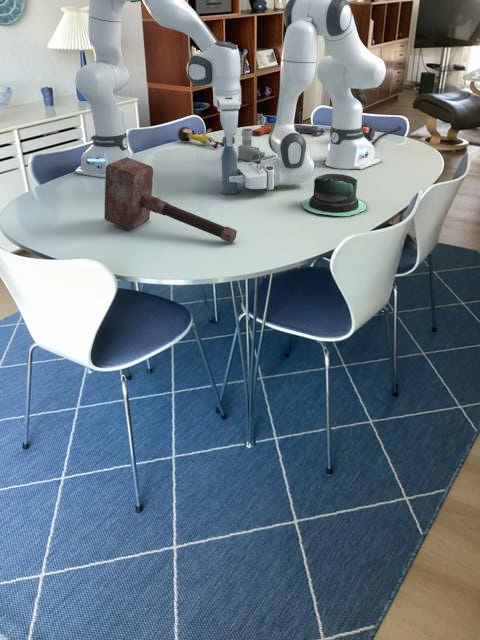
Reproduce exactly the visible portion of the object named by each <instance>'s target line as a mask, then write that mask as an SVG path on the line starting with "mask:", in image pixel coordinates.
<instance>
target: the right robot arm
mask: <svg viewBox="0 0 480 640" xmlns="http://www.w3.org/2000/svg"><path fill="white" fill-rule="evenodd" d="M283 22H284V26H285V29H286V31H285V35H284V40H283V44H282V50H281V58H280V72H279V73H280V74H279V92H278V97H277V98H278V99H277V107H276V114H275V120H274V123H275V124H274V126H273V128H272V130H271V132H269V134H268V145H269V148H270V150H271V151H272V152H273V153H275V154H276V155H277V158H275V159H273V158H272V159H267V160H261V161H259V163H257V162H250V161H244V162H243V161H242V162H237V176H234V175H233V176H229V177H228V178H229V182H238V183H239V184H243V185H244V187H245V188H246V189H250V190H264V189H267V190H268V191H269V190H270V191H271V190H274V188H275V187H277V186H281V185H286V186H290V185H291V186H292V185H300V184H304V183H308V182H309V181H310V180H311V179H312V177H313V176H314V172H315V162H314V160H313V159H312V158H311V156H310V153H309V152H308V147H307V141H306V139H305V137H304V136H303V135H302V134H301V133H298V132H296V131H295V128H294V125H295V117H296V109H297V103H298V99H299V97H300V95H301V94H302V93H303V92H304V91H306V90H307V89H309V88H310V87H311V85H312V84H313V81H314V78H315V74H316V78H317V80H318V81H319V83H320V84H321V85H322V86H323V87H324V88H325V91H327V93H328V96H329V98H330V101H331V112H332V113H331V115H332V116H331V126H330V130H329V137H330V140H329V143H328V144H327V145H328V146H327V156H326V157H325V163H324V164H325V166H327V167H330V168H334V169H341V170H342V169H343V170H348V169H350V170H351V169H352V170H363V169H365V168H368V167H370V166H373V165H376V164H378V163H381V158H379V157H377V156H376V155H375V150H376V149H375V145H376V143H377V141H378V140H380V139H381V138H383V137H384V136H385V135H388V134H390V133H394V132H396V131H398V130H399V129H401V125H397V127H396V128H395V129H394V128H393V129H391V130H388V131H386V132H383V133H382V134H380V135H378V136H377V137H376V138H375V139H374V141H372V143H371V141H368V140H367V139H366V138H365V137H364V134H363V132H365V133H368V129H369V128H368V127H363V128H362V127H361V125H362V123H363V122H362V121H363V111H364V106H363V107H362V104H361V103H360V102H359V101H358V100H357V99H355V98H354V97H353V95H352V93H351V90H350V88H356V89H363V90H369V89H375V88H379V86H380V85H382V84H383V82H384V80H385V78H386V74H387V68H386V64H385V61H384V60H383V59H382V58H381V57H379V56H377V55H375V54H374V53H372V52H371V51H370V50H369V49H368V48H367V47H366V46H365V44H364V43H363V42H362V40H361V39H360V36H359V33H358V30H357V25H356V22H355V17H354V14H353V10H352V6H351V5H350V2H349V1H348V0H288V1H287V2H286V4H285V6H284V9H283ZM318 36H319V37H322V38H323V39H322V40H323V43H324V45H325V48H326V51H327V53H328V55H325V56H323V57H321V59H320V60H319V62H318V63H317V58H318Z"/></svg>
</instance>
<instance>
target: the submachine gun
mask: <svg viewBox="0 0 480 640" xmlns="http://www.w3.org/2000/svg"><path fill="white" fill-rule="evenodd" d="M274 124H275V122H264V124H262V125H261V126H260V127H259V128H256V129H252V136H257V137H258V136H261V135H265V134H268V133H270V132H271V130H272V128H273V126H274ZM294 128H295V131H296V132H298V133H299V134H311V136H312V137H319V136H322V135H323V134H324V133H325V130H324V128H319V127H318V126H315V125H313V126H312V125H304V124H303V125H302V124H294ZM318 128H319V129H318Z"/></svg>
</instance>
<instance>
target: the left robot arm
mask: <svg viewBox="0 0 480 640" xmlns="http://www.w3.org/2000/svg"><path fill="white" fill-rule="evenodd" d="M127 2H130V3H137V2H142V3H143V5H144V6H145V7H146V9H147V11H148V13H149V15H150V16H151V17H152V19H153V20H154V21H155V22H156V23H157V24H158V25H159V26H161V27H163V28H166V29H170V30H174V31H177V32H181V33H183V34H185V35H187V36H188V37H190V38H191V39H192V41H193V42H194V43H195V44H196V45H197V47H198V48H199V50H200V51H201V52H198V53H197V54H194V55H192V56H191V57H190V58H189V59H188V61H187V63H186V75H187V78H188V80H189V81H190V83H191V84H192V85H193V86H195V87H200V88H204V87H211V86H212V94H213V95H212V97H213V99H212V100H213V106H214V107H216V108H217V111H218V112H219V121H220V125H221V127H222V131H223V133H224V137H225V136H226V144H227V146H232V138H233V137H234V136H237V133H238V124H239V123H238V122H239V110H240V109H241V106H242V85H241V74H242V68H241V67H242V65H241V64H242V63H241V56H240V55H241V54H240V50H239V48H238V46H237V45H236V44H234V43H232V42H229V41H219V40H218V39H217V37H216V36H215V34H214V33H213V31H211V29H210V28H209V26H208V25H207V23H206V22H205V21H204V19H203V18H202V17H201V16H200V14H198V13H197V11H196V10H194V9H193V8H192V6H191V5H190V4H189V3H188V2H187V1H186V0H89V2H88V3H89V4H88V19H87V20H88V21H87V22H88V25H87V30H88V31H87V40H88V43H89V45H90V46H91V47H92V50H93V54H94V62H91V63H87V64H85V65H83V66H82V67H81V68H79V69H78V70H77V71H76V73H75V76H74V84H75V87H76V89H77V91H78V92H79V94H80V95H82V96H83V97H84V99H85V100H86V101H87V104H88V106H89V110H90V112H91V115H92V121H93V126H94V133H95V134H93V135H92V136H90V137H89V141H92V145H91V146H90V147H88V148H87V149H86V150H85V151H84V152H83V153H82V154H81V157H80V160H79V161H80V166H79V167H77V168H76V169H75V174H79V175H85V176H90V177H97V178H105V177H106V166H107V165H108V164H110V163H113V162H116V161H118V160H121V159H123V158H126V157H128V158H131V156H130V152H129V142H128V135H127V132H126V126H125V119H124V118H125V117H124V112H123V110H122V109H121V107H119V105H118V103H117V101H116V98H115V96H114V93H118V92H119V91H121V90H123V89H124V87H126V86H127V85H128V83H129V81H130V73H129V69H128V67H127V66H126V65H125V62H124V57H123V52H122V28H123V27H122V26H123V25H122V24H123V7H124V5H125V4H126V3H127Z"/></svg>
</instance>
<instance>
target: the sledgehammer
mask: <svg viewBox="0 0 480 640" xmlns="http://www.w3.org/2000/svg"><path fill="white" fill-rule="evenodd" d="M153 183H154V168H153V167H152V166H151V165H150V164H147V163H144V162H142V161H138V160H136V159H133V158H132V157H130V158H128V157H126V158H123V159H121V160H118V161H116V162H113V163H110V164H108V165H107V166H106V177H105V179H104V217H103V218H104V220H105V221H106V222H107V223H110V224H113V225H115V226H118V227H120V228H122V229H124V230H127V231H129V232H130V231H132V230H134V229H136V228H138V227H140V226H142V225H144V224H146V223H147V222H148V221H149V220H150V217H151V212H152V213H154V214H159V215H162V216H166V217H169V218H170V219H174V220H175V221H179V222H180V223H183V224H186V225H188V226H191V227H192V228H196V229H198V230H200V231H203V232H205V233H208V234H211V235H212V236H215V237H218V238H220V239H221V240H222V241H225V242H227V243H229V244H232V243H234V241H235V240H236V238H237V233H238V231H237V229H234V228H232V227H229V226H228V225H227V226H224V225H222V224H219V223H217V222H214V221H212V220H209V219H207V218H204V217H201V216H199V215H196V214H194V213H192V212H190V211H187V210H184V209H181V208H180V207H177V206H175V205H172V204H170V203H169V202H167V201H164V200H163V199H161V198H159V197H156V196H153Z"/></svg>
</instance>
